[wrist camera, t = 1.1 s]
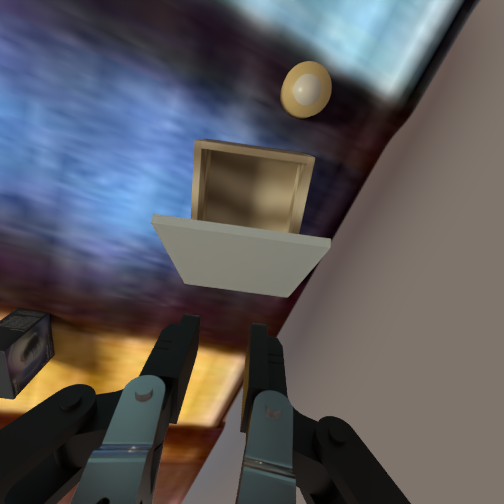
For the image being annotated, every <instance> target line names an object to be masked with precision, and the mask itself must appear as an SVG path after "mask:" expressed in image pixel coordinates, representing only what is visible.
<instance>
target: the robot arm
mask: <svg viewBox="0 0 504 504" xmlns="http://www.w3.org/2000/svg"><path fill="white" fill-rule="evenodd" d="M200 321H201V316H197V315H189V314H184V315H183V318H182V320H181V322H180V325H177V324H170V325H168V326H167V327H166V328H165V329H163V330H162V332H161V334H160V336H159V338H158V340H157V342H156V344H155V346H154V348H153V350H152V351H151V353H150V355H149V357H148V359H147V361H146V363H145V365H144V367H143V369H142V371H141V373H140V375H139V377H137V378H135V379H133V380H131V381H130V382H129V383H128V384H127V385H126V386H125V388H124V389H122V390H119V391H116V392H110V393H104V394H97V395H96V393H95V391H94V389H93V388H92V387H90V386H88V385H85V384H76V385H71V386H68V387H65V388H63V389H61V390H60V391H58V392H56V393H55V394H53V395H52V396H50V397H49V398H47V399H46V400H44V401H43V402H41V403H40V404H38V405H37V406H35V407H34V408H32V409H31V410H29V411H28V412H26V413H25V414H23V415H22V416H20V417H19V418H17V419H16V420H14V421H13V422H11V423H10V424H8V425H7V426H5V427H4V428H2V429H1V430H0V504H57V503H58V502H59V501H60V500H61V499H62V498H63V497H64V496H65V495H66V494H67V493H68V492H69V491H70V490H71V489H72V488H73V487H74V486H75V485H76V484H77V483H78V482H79V484H78V486H77V488H76V491H75V493H74V496H73V498H72V501H71V503H70V504H152V501H153V496H154V491H155V485H156V480H157V475H158V470H159V465H160V460H161V455H162V450H163V445H164V438H165V435H166V432H167V429H168V426H169V423H172V424H177V421H178V417H179V414H180V410H181V407H182V404H183V400H184V397H185V393H186V390H187V387H188V383H189V380H190V376H191V373H192V369H193V366H194V363H195V359H196V356H197V351H198V345H199V334H200ZM240 432H244V433H246V445H245V450H244V456H243V461H242V467H241V474H240V479H239V486H238V491H237V497H236V503H235V504H296V486H297V487H299V488H300V490H301V493H302V495H303V497H304V499H305V501H306V503H307V504H411V503H410V502H409V501H408V500H407V498H406V497H405V496H404V494H403V493H402V492H401V490H400V489H399V488H398V486H397V485H396V484H395V483H394V481H393V480H392V479H391V477H390V476H389V475H388V474H387V472H386V471H385V470H384V469H383V467H382V466H381V464H380V463H379V462H378V461H377V459H376V458H375V457H374V455H373V454H372V453H371V452H370V450H369V449H368V448H367V446H366V445H365V444H364V443H363V441H362V440H361V439H360V437H359V436H358V435H357V434H356V432H355V431H354V430H353V428H351V426H350V425H349V424H348V423H346V422H345V421H344V420H342V419H340V418H337V417H334V416H326V417H323V418H321V419H320V420H319V421H318V422H317V421H315V420H313V419H311V418H308V417H306V416H304V415H302V414H300V413H299V412H298V411H297V410H295V409H294V407H293V406H292V405H291V403H290V401H289V399H288V396H287V387H286V377H285V367H284V358H283V347H282V345H281V343H280V342H279V340H278V338H275V337H268V336H267V325H264V324H257V323H251V326H250V332H249V338H248V344H247V351H246V359H245V371H244V385H243V399H242V413H241V427H240Z"/></svg>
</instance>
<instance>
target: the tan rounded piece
mask: <svg viewBox="0 0 504 504" xmlns="http://www.w3.org/2000/svg"><path fill="white" fill-rule="evenodd" d="M331 90H332V83H331V78H330V76H329V73H328V72H327V70H326V69H325V68H324V67H323V66H322V65H320V64H319V63H316V62H312V61H307V62H302V63H300V64H298V65H296V66H295V67H293V68H292V69H291V71H290V72H289V73H288V75H287V77H286V79H285V81H284V83H283V86H282V88H281V93H280V100H281V104H282V107H283V109H284V110H285V112H286V113H287V114H288V115H289V116H291V117H293V118H296V119H304V118H307V117H310V116H313V115H315V114H317V113H319V112H320V111H321V110H322V109H323V108H324V107H325V106H326V104H327V103H328V101H329V98H330V95H331Z"/></svg>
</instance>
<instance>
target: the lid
mask: <svg viewBox="0 0 504 504" xmlns="http://www.w3.org/2000/svg"><path fill="white" fill-rule="evenodd" d="M151 224H152V225H153V227H154V229H155V231H156V233H157V234H158V236H159V238H160V240H161V242H162V243H163V245H164V247H165V249H166V251H167V252H168V254H169V256H170V258H171V260H172V261H173V263H174V265H175V267H176V269H177V270H178V272H179V274H180V276H181V278H182V279H183V281H184V283H185V284H191V285H199V286H206V287H214V288H221V289H228V290H236V291H243V292H251V293H258V294H266V295H273V296H280V297H289V295H290V294H291V293H292V292H293V291H294V290H295V289H296V287H297V286H298V285H299V284H300V283H301V282H302V280H303V279H304V278H305V277H306V276H307V275H308V274H309V272H310V271H311V270H312V269H313V268H314V267H315V265H316V264H317V263H318V262H319V261H320V260H321V259H322V257H323V256H324V255H325V254H326V253H327V252H328V251H329V249H330V248H331V239H329V238H321V237H314V236H307V235H300V234H293V233H286V232H279V231H271V230H264V229H257V228H250V227H243V226H236V225H229V224H221V223H214V222H207V221H200V220H193V219H186V218H179V217H172V216H164V215H157V214H153V218H152V221H151Z"/></svg>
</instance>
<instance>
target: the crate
mask: <svg viewBox="0 0 504 504" xmlns="http://www.w3.org/2000/svg"><path fill="white" fill-rule="evenodd" d="M314 161H315V157H313V156H311V155H308V154H306V153H301V152H294V151H287V150H280V149H273V148H267V147H260V146H253V145H246V144H239V143H233V142H226V141H219V140H212V139H199V140H195V147H194V166H193V185H192V204H191V219H193V220H200V221H207V222H214V223H221V224H229V225H236V226H243V227H250V228H257V229H264V230H271V231H279V232H286V233H293V234H299V232H300V227H301V222H302V218H303V213H304V208H305V204H306V199H307V194H308V189H309V185H310V180H311V175H312V171H313V166H314Z"/></svg>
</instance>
